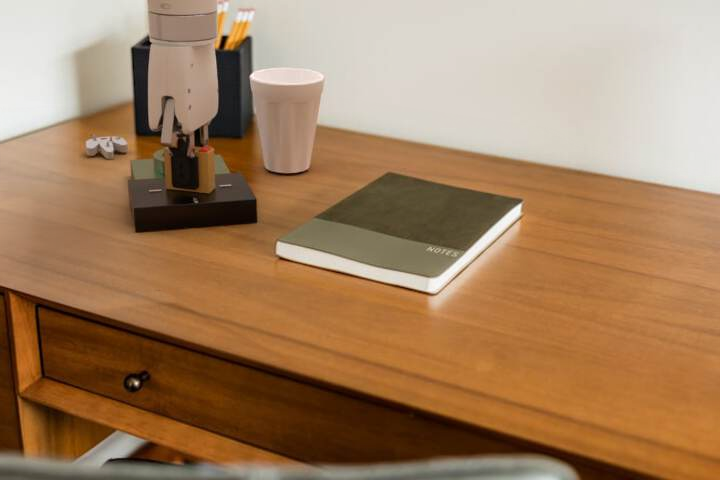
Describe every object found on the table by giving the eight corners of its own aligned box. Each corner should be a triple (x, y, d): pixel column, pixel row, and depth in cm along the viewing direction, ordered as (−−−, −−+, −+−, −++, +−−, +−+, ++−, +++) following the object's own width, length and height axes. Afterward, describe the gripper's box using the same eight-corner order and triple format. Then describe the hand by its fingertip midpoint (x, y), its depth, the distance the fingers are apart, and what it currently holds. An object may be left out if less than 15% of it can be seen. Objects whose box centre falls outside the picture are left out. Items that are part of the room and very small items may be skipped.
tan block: (165, 189, 107) (163, 146, 105) (172, 183, 109) (170, 141, 107) (209, 193, 106) (207, 151, 104) (215, 188, 108) (214, 146, 106)
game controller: (98, 162, 125) (96, 144, 124) (57, 144, 132) (55, 127, 131) (134, 154, 129) (132, 136, 128) (92, 137, 136) (90, 120, 135)
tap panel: (135, 232, 102) (133, 206, 101) (129, 202, 111) (127, 178, 110) (257, 222, 106) (256, 197, 105) (241, 194, 115) (241, 170, 114)
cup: (287, 185, 118) (287, 87, 113) (235, 168, 124) (233, 74, 119) (338, 169, 126) (340, 76, 120) (287, 153, 131) (287, 64, 126)
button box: (136, 198, 112) (134, 167, 111) (131, 175, 120) (129, 146, 119) (232, 191, 116) (231, 161, 114) (220, 169, 124) (219, 141, 122)
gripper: (180, 15, 108) (187, 161, 115) (118, 37, 93) (131, 203, 101) (240, 19, 106) (243, 167, 113) (186, 42, 92) (193, 210, 99)
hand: (190, 183), depth 107 cm, fingers closed on tan block, 2 cm apart
